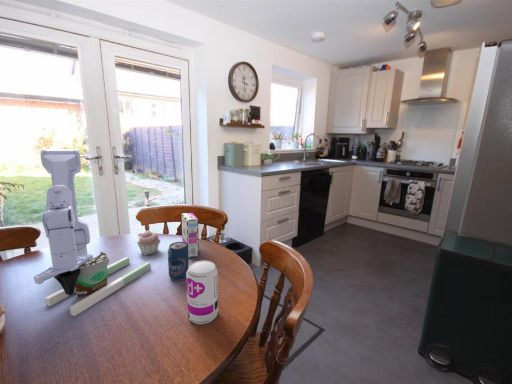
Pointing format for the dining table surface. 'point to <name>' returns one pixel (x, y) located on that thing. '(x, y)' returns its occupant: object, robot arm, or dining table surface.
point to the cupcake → (148, 243)
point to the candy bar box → (190, 233)
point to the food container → (92, 275)
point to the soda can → (178, 260)
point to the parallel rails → (103, 291)
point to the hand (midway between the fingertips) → (69, 293)
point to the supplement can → (202, 292)
